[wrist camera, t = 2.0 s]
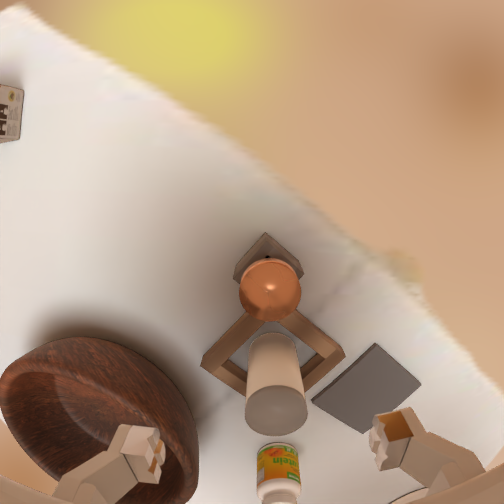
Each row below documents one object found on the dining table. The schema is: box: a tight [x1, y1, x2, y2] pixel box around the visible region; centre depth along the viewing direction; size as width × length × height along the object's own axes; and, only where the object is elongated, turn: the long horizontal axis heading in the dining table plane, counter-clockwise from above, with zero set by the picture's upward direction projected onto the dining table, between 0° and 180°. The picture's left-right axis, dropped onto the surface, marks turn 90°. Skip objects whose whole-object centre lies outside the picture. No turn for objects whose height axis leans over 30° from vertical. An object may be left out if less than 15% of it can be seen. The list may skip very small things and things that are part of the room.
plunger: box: [239, 258, 301, 321], centre depth 25 cm, size 4×4×5 cm
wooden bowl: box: [0, 337, 199, 504], centre depth 31 cm, size 25×25×10 cm
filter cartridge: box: [245, 333, 308, 436], centre depth 28 cm, size 5×5×10 cm
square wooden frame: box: [200, 232, 346, 397], centre depth 30 cm, size 14×14×4 cm
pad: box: [311, 343, 421, 434], centre depth 34 cm, size 10×10×1 cm
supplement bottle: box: [257, 443, 301, 504], centre depth 32 cm, size 5×5×10 cm
